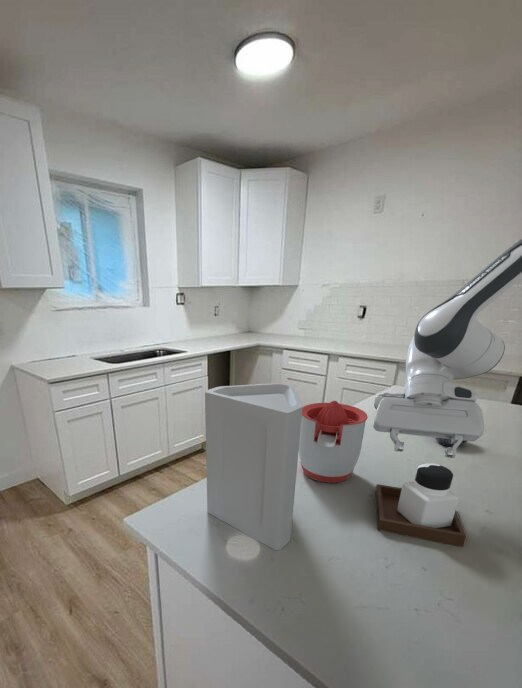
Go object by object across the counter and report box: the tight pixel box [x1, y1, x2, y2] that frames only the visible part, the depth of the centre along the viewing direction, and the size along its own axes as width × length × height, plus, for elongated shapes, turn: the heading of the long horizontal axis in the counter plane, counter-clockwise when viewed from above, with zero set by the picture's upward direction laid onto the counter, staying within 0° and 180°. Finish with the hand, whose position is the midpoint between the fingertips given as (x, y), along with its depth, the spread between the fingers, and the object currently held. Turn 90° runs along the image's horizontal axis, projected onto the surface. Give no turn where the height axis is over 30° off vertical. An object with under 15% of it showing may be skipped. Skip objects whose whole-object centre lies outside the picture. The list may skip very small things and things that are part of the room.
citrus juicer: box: [298, 400, 369, 484], centre depth 91 cm, size 16×17×20 cm
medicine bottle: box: [397, 462, 460, 528], centre depth 73 cm, size 7×7×12 cm
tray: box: [374, 483, 467, 548], centre depth 77 cm, size 15×15×3 cm
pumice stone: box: [434, 437, 468, 447], centre depth 109 cm, size 10×8×10 cm
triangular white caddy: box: [204, 382, 304, 551], centre depth 74 cm, size 19×15×28 cm
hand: (424, 453), depth 76 cm, fingers open, 8 cm apart
